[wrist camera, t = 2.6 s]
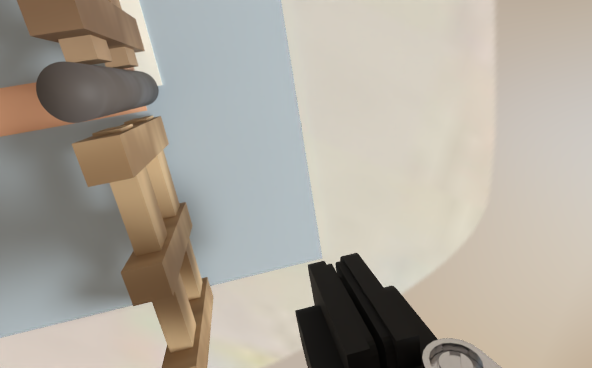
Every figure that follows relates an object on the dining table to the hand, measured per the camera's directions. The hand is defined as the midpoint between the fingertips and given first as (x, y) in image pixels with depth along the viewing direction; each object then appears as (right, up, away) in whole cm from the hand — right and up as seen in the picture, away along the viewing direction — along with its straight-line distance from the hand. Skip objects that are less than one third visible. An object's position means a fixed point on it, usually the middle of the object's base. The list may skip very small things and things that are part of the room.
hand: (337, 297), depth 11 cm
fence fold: (-7, +2, +4) cm, 8 cm away
